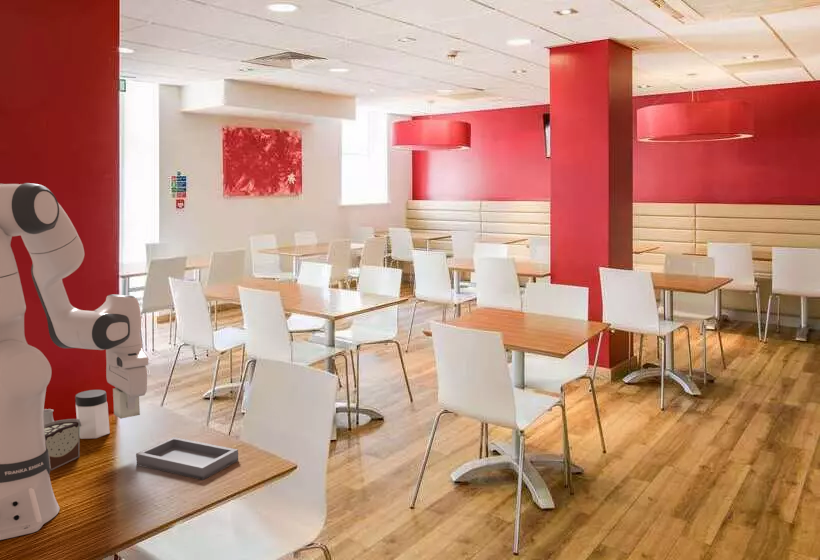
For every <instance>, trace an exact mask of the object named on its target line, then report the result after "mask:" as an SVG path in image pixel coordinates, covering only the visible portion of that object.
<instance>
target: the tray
mask: <svg viewBox="0 0 820 560" xmlns="http://www.w3.org/2000/svg"><path fill="white" fill-rule="evenodd" d="M135 457H136V466H141V467H144V468H149V469H153V470H158V471H162V472H166V473H171V474H176V475H179V476H184V477H188V478H193V479H196V480H201V481H204V480H206V479H208V478H209V477H211V476H213V475H215V474H217V473H219V472H220V471H222V470H224V469H226V468H228V467H229V466H231V465H233V464H235V463H237V462H238V461H239V449H238V448H232V447H227V446H222V445H215V444H211V443H206V442H201V441H197V440H196V441H195V440H191V439H186V438H179V437H175V436H173V437H170V438H169V439H166V440H164V441H161V442H159V443H157V444H155V445H153V446H150V447H148V448H146V449H143V450H142V451H140V452H136V454H135Z"/></svg>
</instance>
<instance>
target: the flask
mask: <svg viewBox="0 0 820 560" xmlns="http://www.w3.org/2000/svg"><path fill="white" fill-rule="evenodd" d="M53 412H54V409H51V408H48V409H47V408H44V413H43V419H44V425H45V424H47V423H50V422H54V421H55V420H54V414H53Z"/></svg>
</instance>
